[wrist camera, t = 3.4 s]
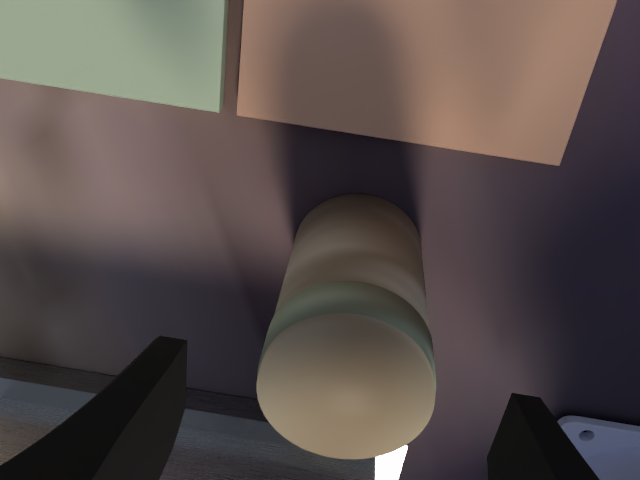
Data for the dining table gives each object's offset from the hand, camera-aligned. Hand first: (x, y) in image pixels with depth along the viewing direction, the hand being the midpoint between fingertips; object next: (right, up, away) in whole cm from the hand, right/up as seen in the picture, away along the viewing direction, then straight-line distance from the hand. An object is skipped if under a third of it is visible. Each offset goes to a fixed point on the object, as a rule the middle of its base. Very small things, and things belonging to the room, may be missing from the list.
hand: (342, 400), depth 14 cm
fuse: (+1, +3, +6) cm, 7 cm away
